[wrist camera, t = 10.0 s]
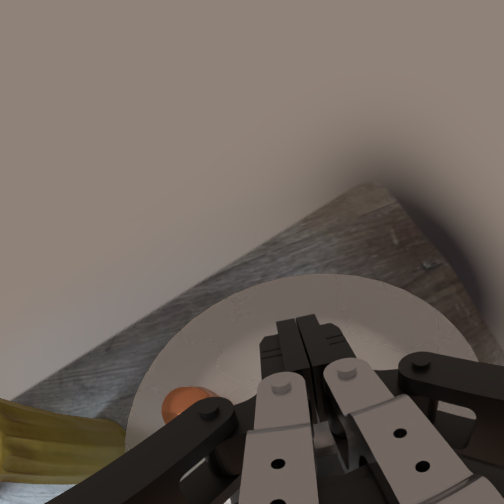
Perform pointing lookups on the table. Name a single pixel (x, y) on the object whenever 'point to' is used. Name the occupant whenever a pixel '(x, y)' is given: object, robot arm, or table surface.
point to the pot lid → (264, 324)
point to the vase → (54, 445)
